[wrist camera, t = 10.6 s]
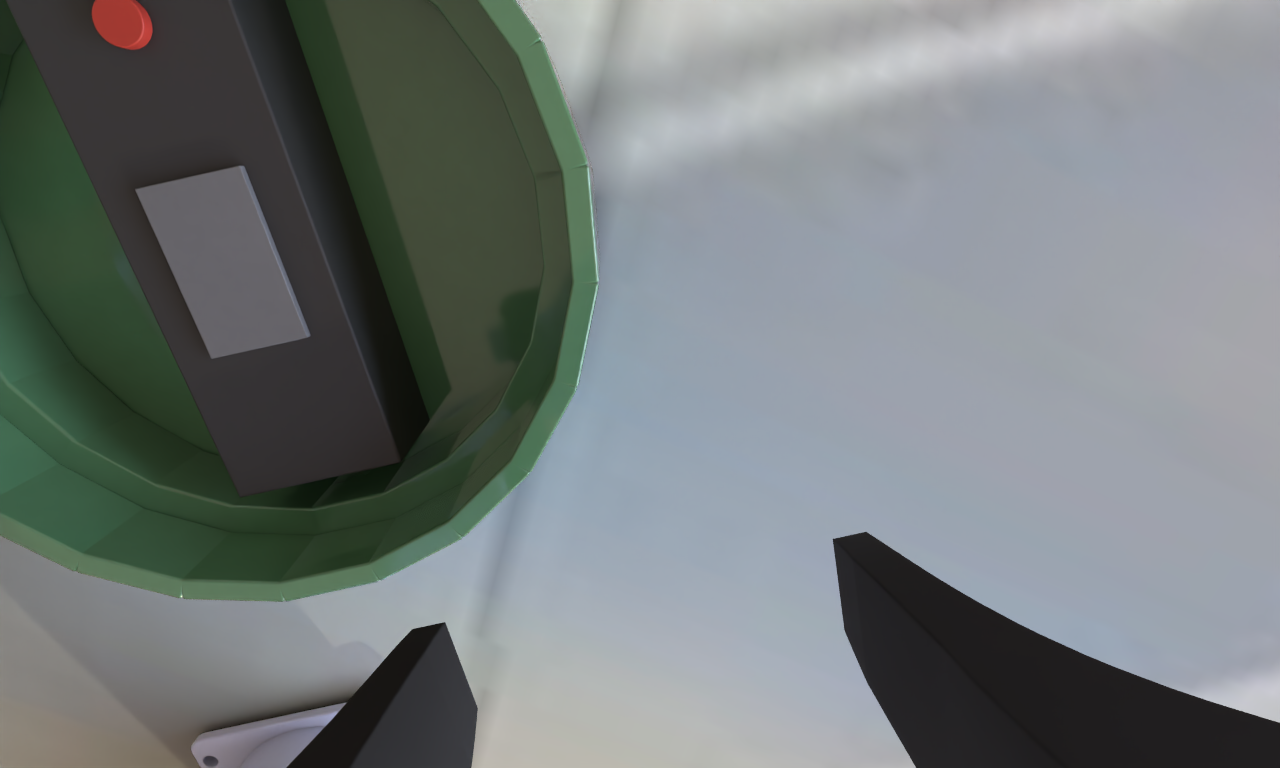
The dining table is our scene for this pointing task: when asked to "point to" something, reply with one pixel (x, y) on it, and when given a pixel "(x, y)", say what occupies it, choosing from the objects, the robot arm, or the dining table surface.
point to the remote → (235, 227)
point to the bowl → (412, 278)
